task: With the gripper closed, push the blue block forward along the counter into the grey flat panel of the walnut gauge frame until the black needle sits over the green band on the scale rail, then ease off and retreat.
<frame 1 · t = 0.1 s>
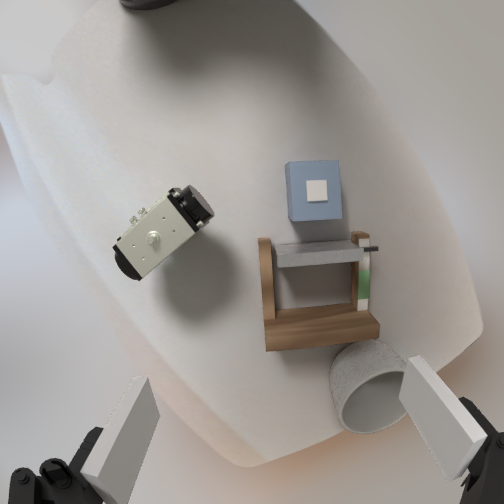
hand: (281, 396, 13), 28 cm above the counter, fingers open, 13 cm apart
blue block: (308, 190, 38), on the counter
pneumatic valve: (177, 222, 39), on the counter
planter: (358, 363, 44), on the counter
gauge frame: (312, 277, 41), on the counter
grey flat panel: (328, 251, 37), point 3 cm above the counter, slide at 0.0 cm
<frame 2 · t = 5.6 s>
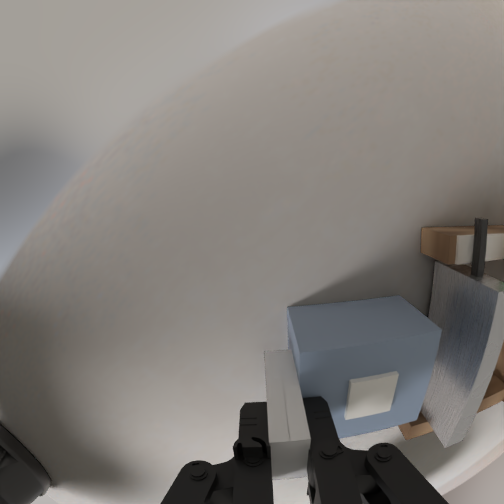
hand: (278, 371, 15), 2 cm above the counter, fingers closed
blue block: (344, 345, 17), on the counter
gauge frame: (473, 322, 17), on the counter
grey flat panel: (461, 334, 13), point 3 cm above the counter, slide at 0.0 cm
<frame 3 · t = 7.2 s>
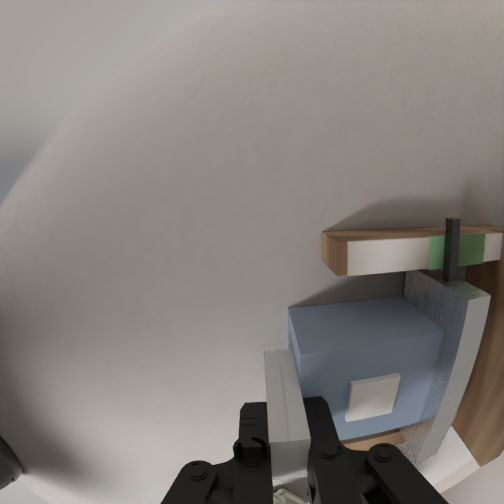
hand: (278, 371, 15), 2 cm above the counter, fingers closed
blue block: (345, 346, 17), on the counter, touching gripper
pneumatic valve: (275, 497, 21), on the counter
gauge frame: (407, 339, 17), on the counter
grey flat panel: (434, 342, 13), point 3 cm above the counter, slide at 4.1 cm
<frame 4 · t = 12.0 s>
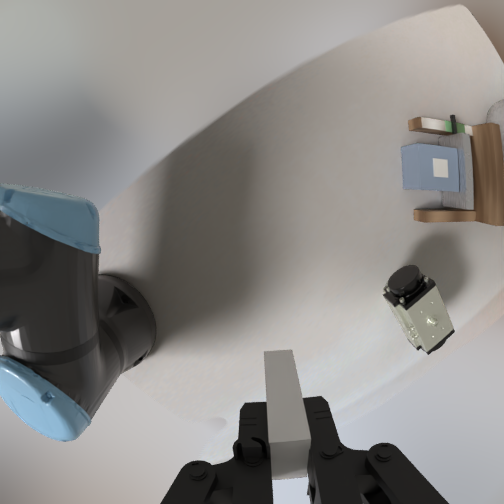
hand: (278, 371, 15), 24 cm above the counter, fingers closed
blue block: (421, 169, 36), on the counter
pneumatic valve: (392, 292, 40), on the counter
planter: (500, 134, 34), on the counter
gauge frame: (443, 171, 36), on the counter
grey flat panel: (455, 160, 32), point 3 cm above the counter, slide at 4.3 cm
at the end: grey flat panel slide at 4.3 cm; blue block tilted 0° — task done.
